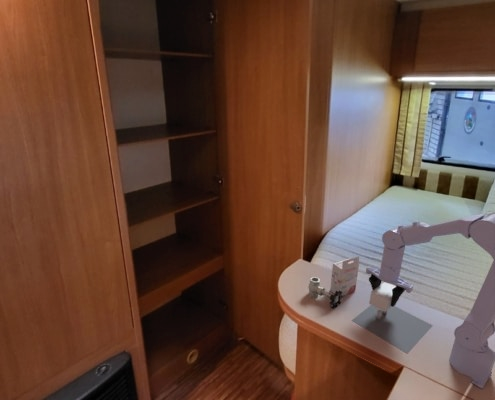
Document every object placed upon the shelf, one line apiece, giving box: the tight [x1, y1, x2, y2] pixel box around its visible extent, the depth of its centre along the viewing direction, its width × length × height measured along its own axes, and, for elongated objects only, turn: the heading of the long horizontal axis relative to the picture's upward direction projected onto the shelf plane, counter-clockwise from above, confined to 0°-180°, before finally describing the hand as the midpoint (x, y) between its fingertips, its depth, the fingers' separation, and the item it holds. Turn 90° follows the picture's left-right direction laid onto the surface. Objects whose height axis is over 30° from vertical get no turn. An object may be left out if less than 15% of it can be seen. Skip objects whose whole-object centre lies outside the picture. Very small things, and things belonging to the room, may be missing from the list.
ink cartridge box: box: [329, 256, 360, 298], centre depth 120 cm, size 9×5×15 cm, turn 119°
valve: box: [307, 276, 344, 309], centre depth 116 cm, size 7×7×12 cm
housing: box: [368, 282, 400, 312], centre depth 106 cm, size 9×5×4 cm, turn 131°
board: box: [351, 304, 433, 354], centre depth 105 cm, size 18×18×4 cm
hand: (384, 300), depth 107 cm, fingers closed on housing, 5 cm apart
